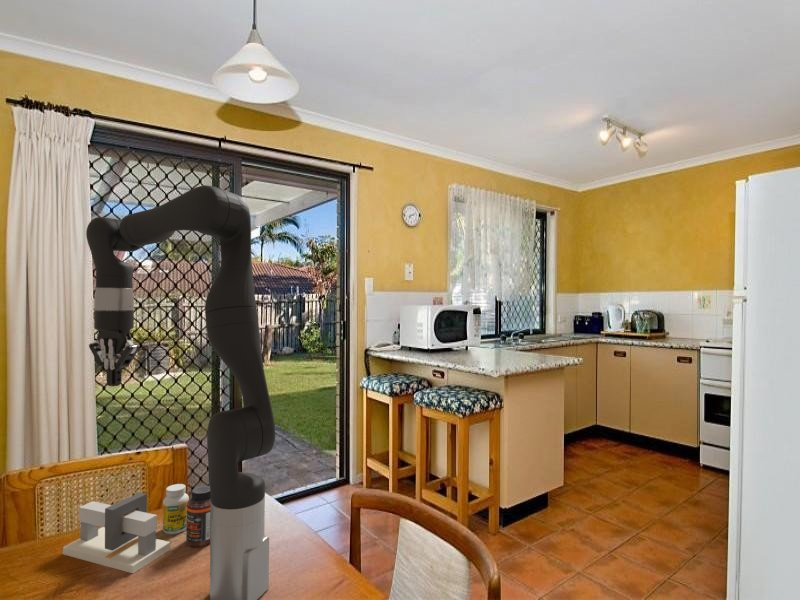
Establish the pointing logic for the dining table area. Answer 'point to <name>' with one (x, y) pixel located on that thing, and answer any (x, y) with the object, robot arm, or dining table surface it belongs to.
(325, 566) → the dining table surface
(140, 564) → the white bar stand
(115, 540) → the collar
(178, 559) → the dining table surface
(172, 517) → the supplement bottle
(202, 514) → the supplement bottle
